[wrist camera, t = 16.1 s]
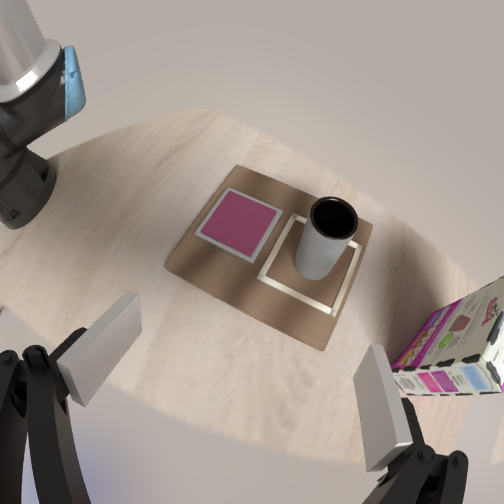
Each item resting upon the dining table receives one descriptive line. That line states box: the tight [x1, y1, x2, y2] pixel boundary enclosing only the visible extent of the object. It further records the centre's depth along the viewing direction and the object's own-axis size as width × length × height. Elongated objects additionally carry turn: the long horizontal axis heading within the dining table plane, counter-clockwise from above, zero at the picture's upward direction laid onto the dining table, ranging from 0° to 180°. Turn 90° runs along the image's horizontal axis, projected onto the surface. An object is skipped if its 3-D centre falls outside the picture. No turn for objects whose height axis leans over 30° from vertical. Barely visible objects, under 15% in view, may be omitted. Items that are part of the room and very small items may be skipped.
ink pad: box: [194, 187, 283, 267], centre depth 34 cm, size 8×8×2 cm
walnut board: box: [164, 165, 373, 351], centre depth 34 cm, size 21×18×1 cm
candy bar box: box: [391, 276, 504, 396], centre depth 21 cm, size 11×5×16 cm, turn 129°
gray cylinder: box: [295, 197, 359, 280], centre depth 28 cm, size 4×4×10 cm
